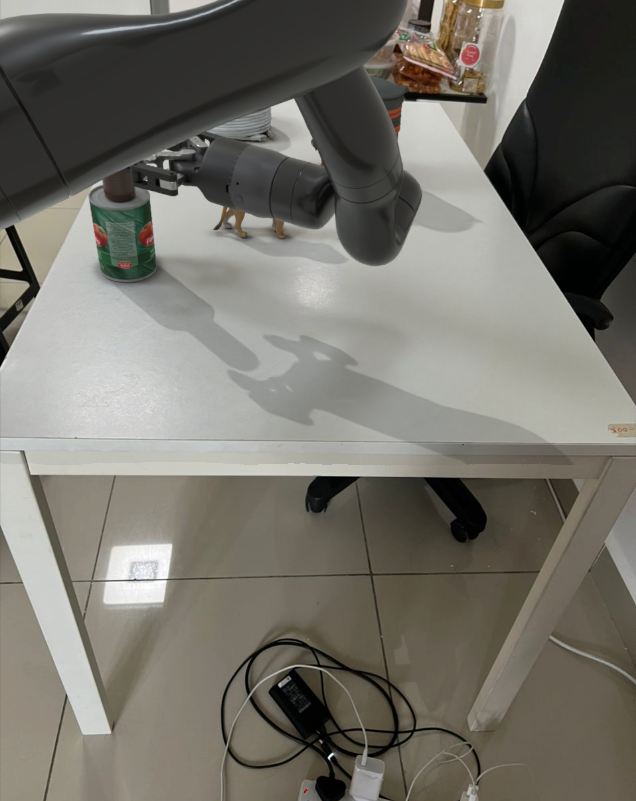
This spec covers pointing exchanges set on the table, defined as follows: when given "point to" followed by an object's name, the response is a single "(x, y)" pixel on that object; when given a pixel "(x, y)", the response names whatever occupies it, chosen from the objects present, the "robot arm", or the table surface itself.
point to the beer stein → (388, 101)
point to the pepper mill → (119, 186)
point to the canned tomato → (124, 235)
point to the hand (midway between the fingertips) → (135, 147)
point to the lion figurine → (239, 218)
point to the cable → (247, 127)
